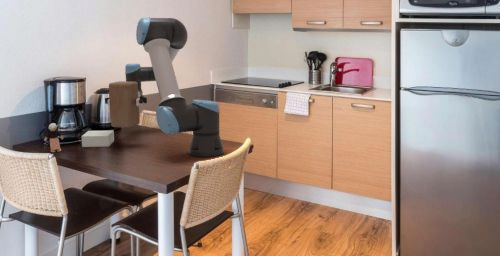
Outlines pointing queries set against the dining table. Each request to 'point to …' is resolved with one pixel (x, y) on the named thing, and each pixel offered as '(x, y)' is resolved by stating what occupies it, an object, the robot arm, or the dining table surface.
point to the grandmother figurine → (53, 138)
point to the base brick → (98, 138)
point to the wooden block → (124, 104)
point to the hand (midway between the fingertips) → (122, 103)
